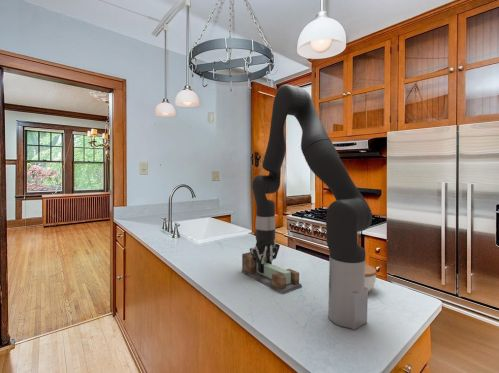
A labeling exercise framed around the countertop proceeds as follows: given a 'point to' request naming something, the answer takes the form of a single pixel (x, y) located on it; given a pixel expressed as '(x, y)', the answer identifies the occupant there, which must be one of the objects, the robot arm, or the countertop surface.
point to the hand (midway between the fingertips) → (265, 271)
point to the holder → (277, 279)
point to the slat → (274, 271)
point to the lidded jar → (370, 276)
